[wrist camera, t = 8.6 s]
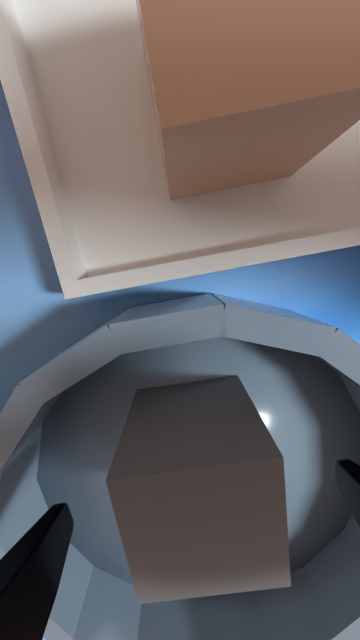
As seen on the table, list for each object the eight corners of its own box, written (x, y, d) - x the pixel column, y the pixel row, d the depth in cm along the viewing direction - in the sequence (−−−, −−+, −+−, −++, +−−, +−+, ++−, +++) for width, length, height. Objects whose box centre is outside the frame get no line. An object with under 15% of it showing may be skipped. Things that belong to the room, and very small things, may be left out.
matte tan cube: (280, 25, 7) (426, -327, 3) (289, 176, 8) (412, 77, 4) (144, 54, 8) (98, -241, 3) (169, 200, 9) (160, 128, 4)
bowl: (381, 262, 10) (472, 259, 7) (377, 572, 13) (432, 656, 11) (-32, 336, 10) (-117, 365, 7) (80, 613, 14) (54, 704, 11)
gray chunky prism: (237, 375, 10) (283, 457, 6) (246, 460, 11) (291, 586, 7) (136, 389, 10) (105, 481, 6) (154, 472, 11) (138, 604, 7)
